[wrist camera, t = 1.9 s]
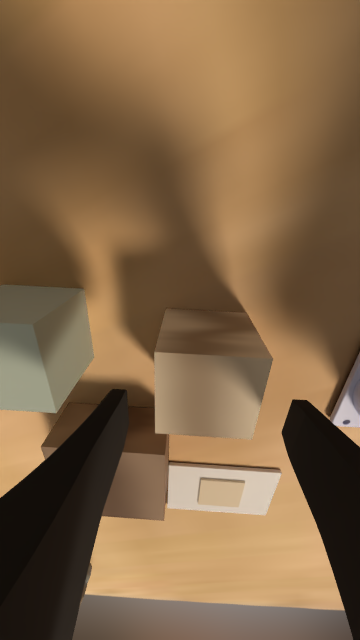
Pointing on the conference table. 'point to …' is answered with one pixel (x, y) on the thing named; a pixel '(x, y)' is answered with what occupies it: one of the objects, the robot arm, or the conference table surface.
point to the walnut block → (126, 462)
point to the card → (221, 488)
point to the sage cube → (42, 346)
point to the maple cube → (209, 374)
